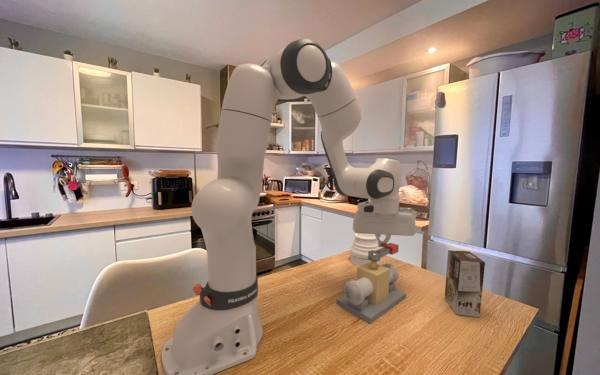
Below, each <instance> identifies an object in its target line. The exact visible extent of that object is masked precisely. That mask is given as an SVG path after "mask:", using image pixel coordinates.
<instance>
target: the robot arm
mask: <svg viewBox="0 0 600 375" xmlns="http://www.w3.org/2000/svg"><path fill="white" fill-rule="evenodd" d="M229 77H230V78H229V80H228V83H227V86H226V89H225V93H224V97H223V101H222V106H221V110H220V117H219V121H218V127H217V128H218V129H217V135H216V140H215V151H216V157H217V176H216V177H217V178H216V179H215V180H212V181H210V182H208V183H206V184H205V185H204V186H202V188H200V190H199V191H198V192H197V193H196V194H195V196H194V197H193V199H192V202H191V208H190V211H191V215H192V219H193V220H194V223H195V224H196V225H197V226H198V227H199V228H200V230H201V233H202V236H203V241H204V244H205V248H206V256H207V282H206V283H205V286H204V287H203V286H202V285H201V284H200V283H196V284H194V286H193V287H192V291H193V293H194V294H195V295H196V296H199V300H198V301H197V302H196V303H195V304H194V305H193V306H192V307H191V308H190V309H189V310H188V311H187V312H186V313H185V314H184V315H183V316H182V317H181V318H180V319H178V321H177V322H176V324H175V327H174V329H173V330H174V331H173V334H172V337H171V338H169V339H168V340H166V341H165V343H164V345H163V347H162V349H161V357H160V358H161V359H160V360H161V365H162V369H163V371H164V373H165V375H214V374H215V375H216V374H218V373H219V372H222V371H224V370H227V369H230V368H232V367H235V366H236V365H237V366H238V365H239V364H242V363H244V362H248V361H250V360H252V359H254V358H255V357H256V355H257V349H258V345H259V344H260V341H261V339H262V337H263V334H264V329H263V325H262V323H261V319H260V314H259V309H258V308H259V307H258V295H259V283H258V282H259V281H258V280H259V279H258V276H257V248H256V244H255V239H254V234H253V225H252V218H253V213H254V212H255V211H256V209H257V207H258V206H259V203H260V196H261V191H262V186H263V185H262V183H263V176H264V165H265V158H266V157H265V156H266V151H267V145H268V140H269V135H270V130H271V124H272V119H273V113H274V112H273V111H274V109H275V106H276V104H277V102H282V101H286V100H296V99H299V98H303V97H306V99H307V100H309V101H310V103H311V105H312V106H313V109H314V111H315V114H316V116H317V118H318V121H319V123H320V127H321V131H320V140H321V144H322V147H323V150H324V153H325V156H326V159H327V162H328V165H329V167H330V171H331V174H332V181H333V187H334V189H335V192H337V193H338V195H340V196H341V197H355V198H361V199H368V200H367V201H363V202H358V203H357V207H356V208H357V211H356V212H355V213H354V217H353V222H352V231H353V232H354V234H355V233H362V234H375V236H376V238H377V240H378V247H380V248H383V247H384V245H386V244H388V243H389V241H390V240H391V238H392V236H407V237H408V236H409V237H413V236H414V235H416V230H417V229H416V228H417V227H416V219H417V211H416V210H415V209H413V207H403V206H402V207H401V206H400V192H399V191H400V187H401V182H402V175H401V174H402V173H401V172H402V170H401V164H400V161H399V160H397V159H395V158H390V157H378V158H376V159H375V162H374V163H373V164H372V165H370V166H367V167H355V166H352V165H351V164H349V162H348V159H347V158H348V157H347V155H346V152H345V149H344V144H343V143H344V140H345V139H347V138H349V137H350V136H351V135H352V134H353V133H354V132H355V131H356V130H357V128H358V127H359V125H360V123H361V121H362V120H361V119H362V111H361V107H360V104H359V101H358V99H357V96H356V94H355V91H354V89H353V86H352V84H351V83H350V81H349V78H348V77H347V75H346V74H345V72H344V70H343V69H342V67H341V65H339V63H338V62H335V61H331V59H330V58H329V56H328V54H327V53H326V51H325V50H324V48H323V47H322V46H321V45H320V44H319V43H318V42H317V41H315V40H313V39H311V38H301V39H295V40H293V41H291V42H290V43H288V44H287V45H286V46H284V47H282V48H280V49H278V50H276V51H274V53H272V55H270V57H269V58H267V59H266V60H265V61H264V62H263V63H262V64H261V65H259V64H256V63H252V62H251V63H248V62H246V63H241V64H239V65H237V66H236V67H235V68H234V69H233V71H232V73H231V76H229ZM381 235H382V236H383V235H384V237H385V238H384V240H381V239H380V238H381Z"/></svg>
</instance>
